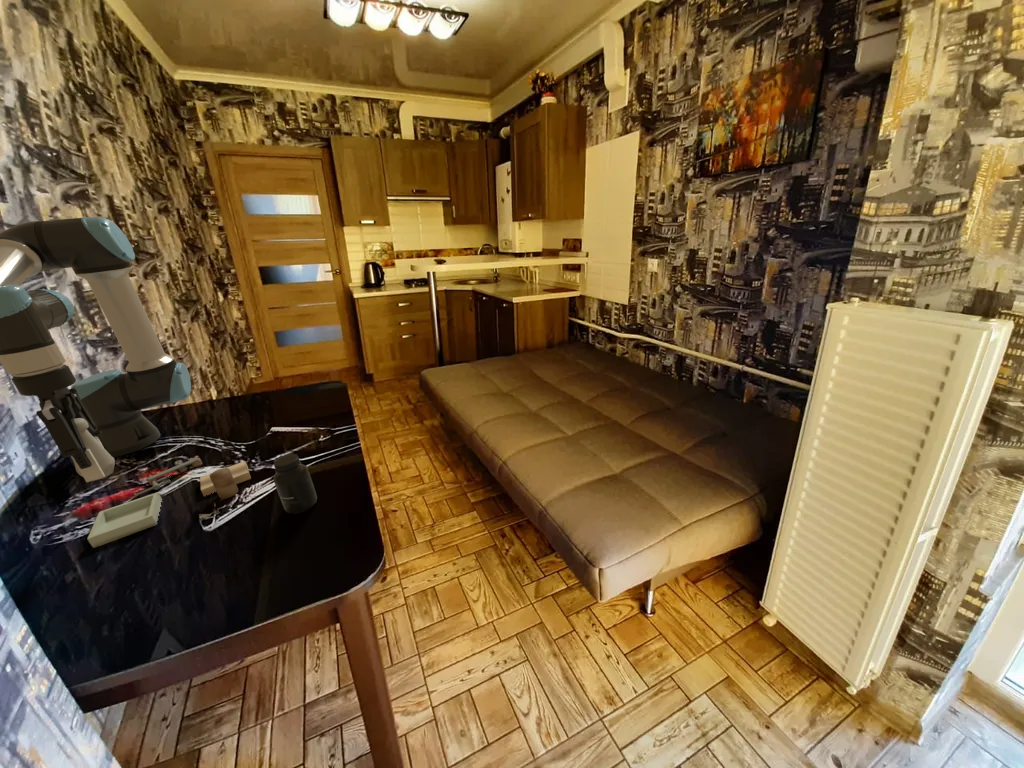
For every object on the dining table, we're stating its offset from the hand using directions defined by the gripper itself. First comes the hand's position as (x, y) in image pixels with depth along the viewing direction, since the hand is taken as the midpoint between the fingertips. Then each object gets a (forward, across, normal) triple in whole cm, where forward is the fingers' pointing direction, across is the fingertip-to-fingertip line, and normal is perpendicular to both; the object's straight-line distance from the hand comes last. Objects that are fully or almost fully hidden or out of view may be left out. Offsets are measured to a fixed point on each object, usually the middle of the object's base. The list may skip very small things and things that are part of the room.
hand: (99, 471), depth 85 cm
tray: (+14, 0, 0) cm, 14 cm away
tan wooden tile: (+14, -4, +19) cm, 24 cm away
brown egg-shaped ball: (+14, +3, +19) cm, 24 cm away
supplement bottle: (+14, +20, +33) cm, 41 cm away
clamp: (+15, -18, +6) cm, 24 cm away
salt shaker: (+1, 0, 0) cm, 1 cm away
